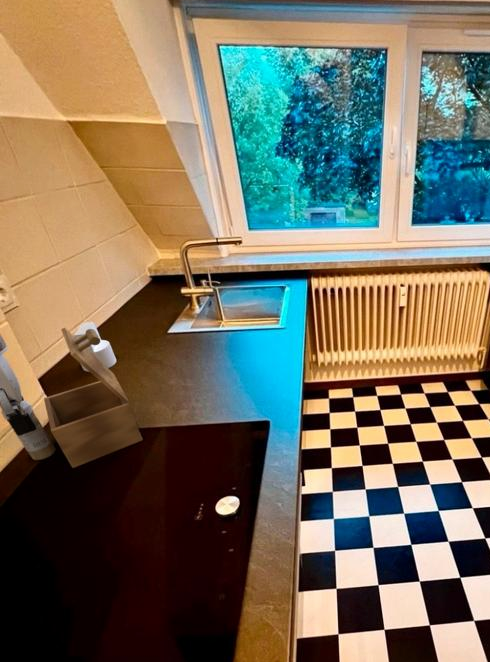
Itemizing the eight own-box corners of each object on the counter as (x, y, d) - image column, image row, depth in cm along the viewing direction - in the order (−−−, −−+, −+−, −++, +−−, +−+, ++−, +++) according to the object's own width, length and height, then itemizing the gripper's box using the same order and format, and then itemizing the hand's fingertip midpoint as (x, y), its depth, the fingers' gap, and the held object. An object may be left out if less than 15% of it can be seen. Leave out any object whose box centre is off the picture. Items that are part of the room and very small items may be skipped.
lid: (71, 355, 71) (96, 339, 73) (60, 329, 81) (83, 315, 82) (125, 404, 81) (146, 389, 83) (110, 376, 91) (130, 363, 92)
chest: (74, 471, 80) (51, 431, 74) (64, 435, 90) (43, 397, 84) (144, 443, 87) (128, 404, 82) (128, 413, 97) (113, 376, 91)
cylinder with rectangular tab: (87, 359, 120) (71, 324, 114) (119, 355, 122) (105, 320, 116) (78, 373, 113) (61, 337, 107) (113, 369, 115) (97, 332, 109)
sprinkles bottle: (56, 446, 87) (28, 397, 79) (59, 457, 84) (29, 407, 76) (31, 455, 84) (-1, 405, 77) (33, 466, 81) (0, 416, 74)
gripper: (-48, 337, 73) (2, 413, 83) (-54, 372, 62) (5, 456, 72) (2, 326, 77) (44, 400, 87) (5, 357, 66) (53, 438, 76)
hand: (26, 424), depth 79 cm, fingers closed on sprinkles bottle, 4 cm apart
